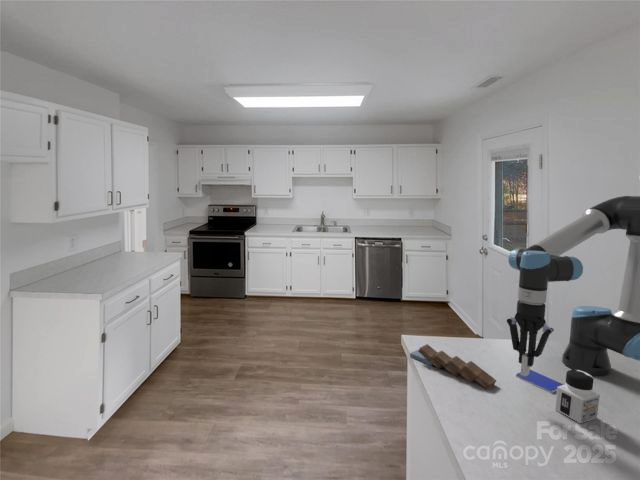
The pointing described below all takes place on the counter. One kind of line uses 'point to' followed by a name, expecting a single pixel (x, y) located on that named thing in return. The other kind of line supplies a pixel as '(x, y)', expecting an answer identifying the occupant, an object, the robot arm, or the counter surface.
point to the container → (577, 397)
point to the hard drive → (540, 381)
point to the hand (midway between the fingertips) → (524, 374)
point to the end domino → (420, 357)
